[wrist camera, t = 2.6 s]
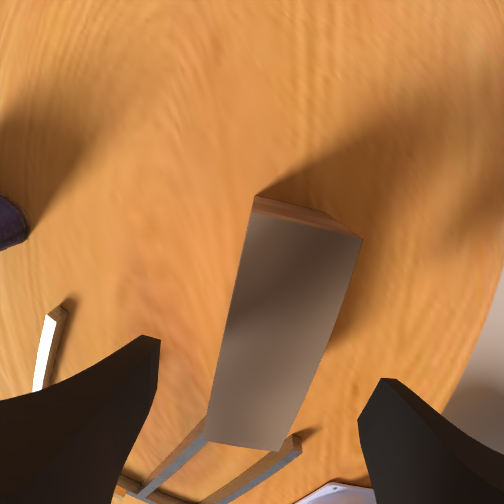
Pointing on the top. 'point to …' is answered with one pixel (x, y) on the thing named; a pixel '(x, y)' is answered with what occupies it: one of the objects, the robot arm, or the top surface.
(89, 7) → the top surface
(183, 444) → the notch rack
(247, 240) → the taupe rectangular box
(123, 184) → the top surface
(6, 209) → the flask
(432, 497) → the robot arm
